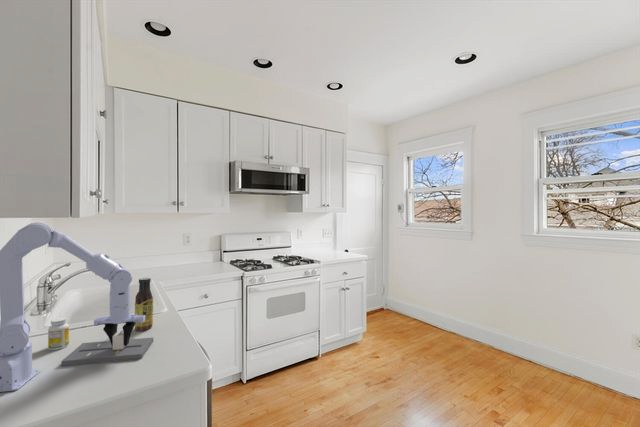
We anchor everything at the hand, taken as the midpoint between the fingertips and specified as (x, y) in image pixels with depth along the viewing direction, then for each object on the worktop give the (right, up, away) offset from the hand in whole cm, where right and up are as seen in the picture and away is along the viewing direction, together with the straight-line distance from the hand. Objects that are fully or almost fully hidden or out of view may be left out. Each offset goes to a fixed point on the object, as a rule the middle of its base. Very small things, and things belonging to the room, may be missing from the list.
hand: (120, 344), depth 100 cm
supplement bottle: (-23, -2, +3) cm, 23 cm away
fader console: (-3, -2, -1) cm, 4 cm away
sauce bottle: (-3, -2, +19) cm, 19 cm away
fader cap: (0, -1, 0) cm, 1 cm away
